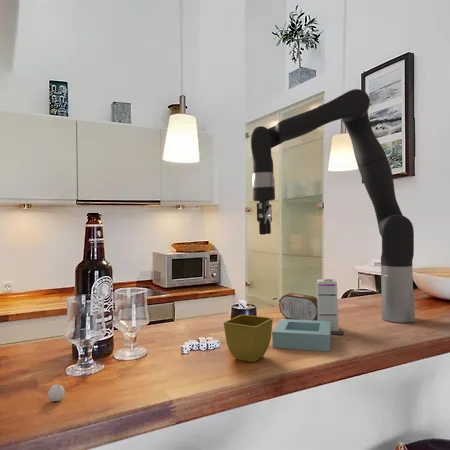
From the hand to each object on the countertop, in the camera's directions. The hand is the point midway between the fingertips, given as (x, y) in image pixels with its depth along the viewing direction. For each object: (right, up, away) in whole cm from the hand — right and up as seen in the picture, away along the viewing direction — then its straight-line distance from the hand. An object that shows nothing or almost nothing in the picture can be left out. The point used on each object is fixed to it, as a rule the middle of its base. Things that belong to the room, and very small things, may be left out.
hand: (265, 234), depth 136 cm
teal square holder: (+7, -28, -31) cm, 42 cm away
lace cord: (+10, -28, -23) cm, 37 cm away
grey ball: (-44, -29, -64) cm, 83 cm away
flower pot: (-8, -28, -43) cm, 52 cm away
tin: (+10, -28, -8) cm, 31 cm away
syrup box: (+16, -28, -20) cm, 38 cm away
